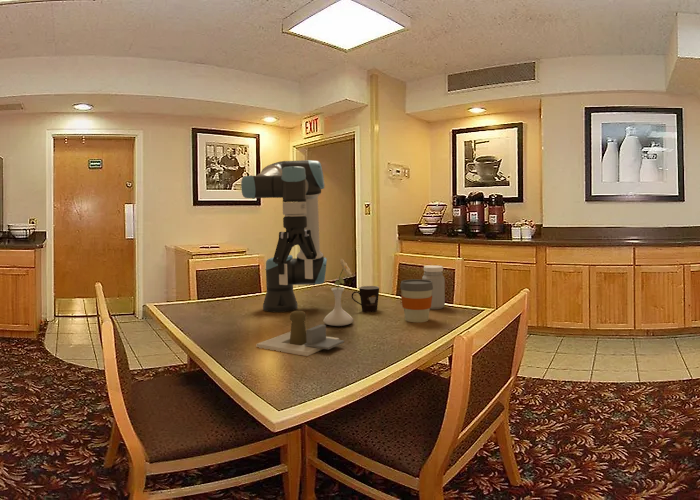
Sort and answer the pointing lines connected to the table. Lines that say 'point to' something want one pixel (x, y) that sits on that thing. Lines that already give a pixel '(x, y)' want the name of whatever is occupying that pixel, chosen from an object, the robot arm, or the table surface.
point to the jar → (436, 285)
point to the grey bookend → (320, 338)
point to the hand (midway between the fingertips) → (296, 281)
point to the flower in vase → (339, 303)
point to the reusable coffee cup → (416, 299)
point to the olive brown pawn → (298, 328)
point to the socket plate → (288, 345)
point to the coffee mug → (368, 298)
